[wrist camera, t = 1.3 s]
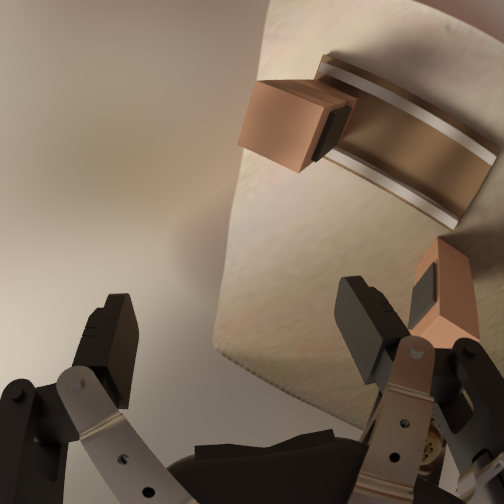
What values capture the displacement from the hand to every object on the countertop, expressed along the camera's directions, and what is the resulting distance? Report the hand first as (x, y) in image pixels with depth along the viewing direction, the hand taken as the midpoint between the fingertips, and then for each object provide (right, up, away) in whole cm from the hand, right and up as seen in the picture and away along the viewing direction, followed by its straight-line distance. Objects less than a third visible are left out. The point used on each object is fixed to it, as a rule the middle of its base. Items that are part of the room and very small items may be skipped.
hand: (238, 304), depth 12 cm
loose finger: (+21, +1, +19) cm, 29 cm away
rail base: (+14, +13, +16) cm, 25 cm away
